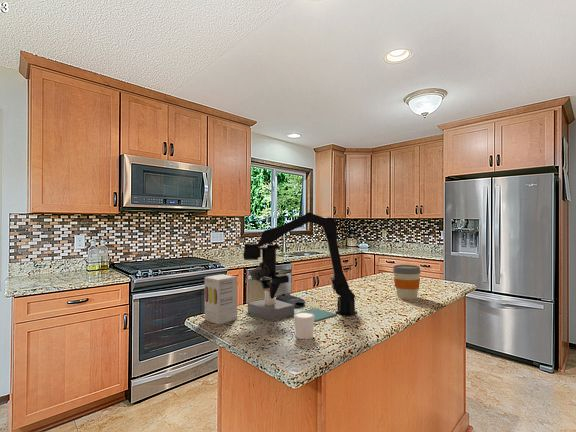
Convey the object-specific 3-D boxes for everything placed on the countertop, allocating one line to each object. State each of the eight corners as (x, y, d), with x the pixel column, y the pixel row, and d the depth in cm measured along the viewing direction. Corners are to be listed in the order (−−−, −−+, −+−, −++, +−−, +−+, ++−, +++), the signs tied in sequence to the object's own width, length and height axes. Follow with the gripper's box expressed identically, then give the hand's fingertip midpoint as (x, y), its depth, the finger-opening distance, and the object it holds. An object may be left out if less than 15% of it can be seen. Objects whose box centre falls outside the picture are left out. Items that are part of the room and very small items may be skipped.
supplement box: (203, 320, 124) (203, 276, 124) (222, 314, 131) (222, 273, 131) (218, 325, 118) (218, 279, 118) (238, 319, 124) (237, 276, 125)
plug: (274, 310, 131) (274, 288, 131) (269, 311, 129) (268, 289, 129) (270, 309, 133) (270, 287, 133) (264, 310, 131) (264, 288, 131)
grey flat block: (294, 314, 129) (294, 304, 129) (270, 321, 121) (270, 310, 121) (270, 306, 141) (270, 297, 141) (247, 312, 133) (247, 302, 133)
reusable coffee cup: (423, 296, 156) (422, 265, 157) (418, 301, 146) (417, 269, 146) (397, 293, 163) (396, 264, 163) (390, 298, 152) (389, 267, 153)
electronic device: (274, 305, 149) (292, 308, 137) (274, 293, 151) (292, 294, 138) (290, 305, 154) (309, 307, 142) (290, 293, 156) (309, 294, 143)
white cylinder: (293, 332, 108) (292, 312, 108) (313, 332, 109) (312, 311, 109) (295, 340, 101) (294, 318, 101) (316, 339, 102) (316, 317, 102)
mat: (336, 315, 127) (336, 314, 127) (315, 321, 120) (315, 320, 120) (315, 309, 136) (315, 308, 136) (294, 314, 129) (294, 313, 129)
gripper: (240, 259, 133) (240, 297, 133) (266, 263, 119) (267, 305, 119) (262, 257, 140) (262, 292, 140) (289, 261, 126) (290, 300, 126)
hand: (269, 297), depth 131 cm, fingers closed on plug, 3 cm apart
